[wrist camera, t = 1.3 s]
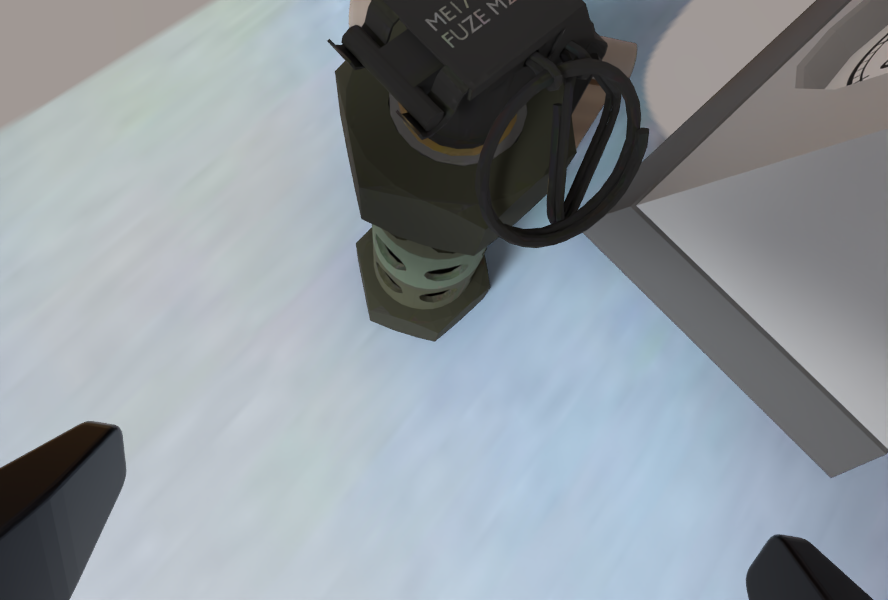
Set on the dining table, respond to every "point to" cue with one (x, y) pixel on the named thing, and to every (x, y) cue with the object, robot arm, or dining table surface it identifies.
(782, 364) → the alarm clock
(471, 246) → the grenade
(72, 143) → the dining table surface
